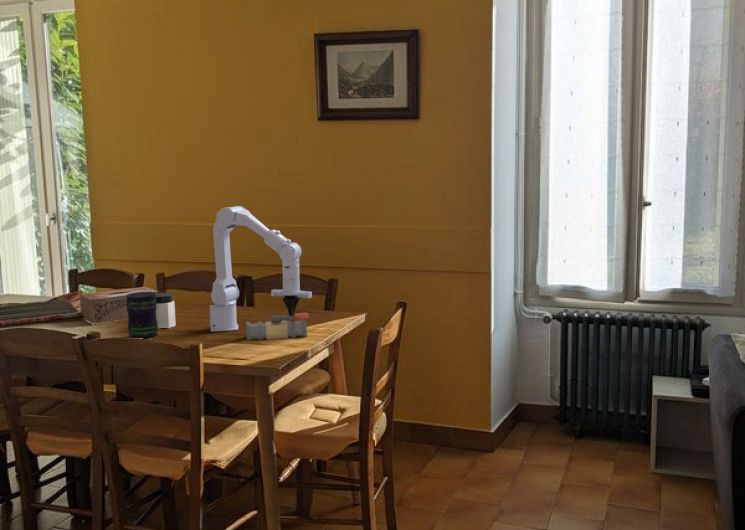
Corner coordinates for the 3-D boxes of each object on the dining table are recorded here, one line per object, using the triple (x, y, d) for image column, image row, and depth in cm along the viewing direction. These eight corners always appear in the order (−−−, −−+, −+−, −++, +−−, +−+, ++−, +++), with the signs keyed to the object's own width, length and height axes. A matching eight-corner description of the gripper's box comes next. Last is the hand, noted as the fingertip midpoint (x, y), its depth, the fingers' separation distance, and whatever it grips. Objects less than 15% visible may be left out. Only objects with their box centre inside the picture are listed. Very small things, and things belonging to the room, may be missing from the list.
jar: (175, 323, 274) (174, 292, 272) (175, 328, 266) (173, 295, 265) (150, 325, 272) (148, 293, 270) (149, 330, 264) (147, 297, 262)
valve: (247, 340, 246) (246, 325, 245) (246, 336, 252) (246, 321, 251) (306, 337, 249) (306, 322, 249) (305, 333, 255) (305, 318, 254)
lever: (273, 323, 247) (272, 318, 247) (269, 321, 251) (269, 316, 250) (309, 319, 253) (309, 313, 253) (305, 317, 257) (305, 312, 256)
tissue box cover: (93, 326, 274) (91, 299, 273) (81, 319, 285) (79, 294, 284) (160, 316, 290) (158, 291, 288) (146, 310, 301) (145, 286, 300)
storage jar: (148, 341, 248) (145, 297, 245) (122, 339, 250) (119, 296, 248) (164, 334, 257) (161, 292, 255) (139, 333, 260) (136, 291, 258)
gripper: (266, 279, 251) (267, 318, 253) (305, 281, 246) (306, 321, 248) (276, 276, 258) (277, 314, 260) (314, 278, 253) (314, 317, 255)
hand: (291, 317), depth 254 cm, fingers closed, pressing on lever
